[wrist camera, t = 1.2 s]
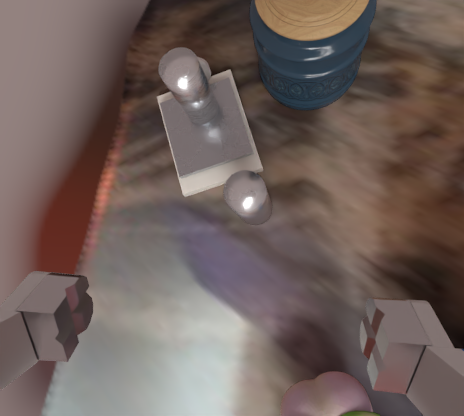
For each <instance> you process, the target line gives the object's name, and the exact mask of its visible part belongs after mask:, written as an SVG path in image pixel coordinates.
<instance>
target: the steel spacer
mask: <svg viewBox="0 0 464 416" xmlns="http://www.w3.org/2000/svg"><path fill="white" fill-rule="evenodd" d="M223 193H224V198H225V201H226V202H227V204H228V205H229V206H230V207H231V208H232V209H233V210H234V211H235V212H236V213H237V214H238V215H239V216H240V217H241V218H242V219H243V220H244V221H245V222H246V223H248V224H250V225H260V224H263V223H265V222H266V221H267V220H268V219H269V218H270V216H271V214H272V203H271V200H270V197H269V194H268V191H267V189H266V186H265V183H264V181H263V179H262V178H261V177H260V176H259V175H258V174H257V173H255V172H253V171H250V170H241V171H238V172H235V173H234V174H232V175H231V176H230V177H229V178H228V179H227V181H226V183H225V185H224V191H223Z"/></svg>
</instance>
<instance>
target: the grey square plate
mask: <svg viewBox="0 0 464 416" xmlns="http://www.w3.org/2000/svg"><path fill="white" fill-rule="evenodd" d="M210 86H211V89H212V91H213V93H214V95H215V97H216V99H217V102H218V105H219V110H218V113H217V115H216V117H215V118H214V119H213V120H212V121H211V122H209V123H207V124H196V123H193V122H192V121H191V120H190V119H189V118H188V116H187V115H186V113H185V112H184V111H183V109H182V108H181V106H180V105H179V103H178V102H177V100H176V99H175V98H172V99H170V100H167V101H164V102H161V103H160V106H161V110H162V114H163V117H164V121H165V125H166V129H167V132H168V136H169V140H170V143H171V147H172V151H173V155H174V158H175V162H176V166H177V170H178V173H179V177H180V178H181V179H182V178H185V177H187V176H190V175H193V174H196V173H199V172H202V171H205V170H208V169H211V168H214V167H217V166H220V165H222V164H225V163H228V162H231V161H234V160H237V159H240V158H243V157H246V156H249V155H252V154H254V153H253V150H252V147H251V143H250V140H249V137H248V134H247V131H246V128H245V125H244V122H243V119H242V116H241V113H240V110H239V107H238V103H237V100H236V97H235V94H234V91H233V88H232V85H231V82H230V79H229V78H226V79H223V80H221V81H218V82H215V83H213V84H210Z"/></svg>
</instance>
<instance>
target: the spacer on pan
mask: <svg viewBox="0 0 464 416" xmlns="http://www.w3.org/2000/svg"><path fill="white" fill-rule="evenodd" d="M159 75H160V77H161V79H162V80H163V82H164V83H165V84H166V86H167V87H168V89H169V90H170V92H171V93H172V95H173V96H174V97H175V99H176V100H177V102H178V103H179V105H180V106H181V108H182V109H183V111H184V112H185V113H186V115H187V116H188V118H189V119H190V120H191V121H192V122H193V123H196V124H207V123H209V122H211V121H212V120H213V119H214V118H215V117H216V115H217V113H218V110H219V105H218V102H217V99H216V97H215V95H214V93H213V91H212V89H211V86H210V84H209V82H208V80H207V78H206V75H205V73H204V71H203V69H202V67H201V65H200V62H199V60H198V58H197V56H196V54H195V53H194V52H193V51H192V50H190V49H188V48H184V47H179V48H174V49H172V50H170V51H168V52H167V53H166V54H165V55H164V56H163V57H162V59H161V61H160V63H159Z"/></svg>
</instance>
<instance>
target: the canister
mask: <svg viewBox="0 0 464 416" xmlns="http://www.w3.org/2000/svg"><path fill="white" fill-rule="evenodd" d="M375 11H376V0H251V3H250V10H249V17H250V23H251V27H252V30H253V38H254V44H255V47H256V50H257V52H258V58H259V71H260V76H261V79H262V82H263V84H264V86H265V87H266V89H267V90H268V92H269V93H270V95H271V96H272V97H273V98H274V99H275V100H277V101H278V102H279V103H281V104H283V105H285V106H287V107H289V108H293V109H297V110H314V109H319V108H322V107H325V106H327V105H330V104H331V103H333V102H335V101H336V100H338V99H339V98H340V97H341V96H342V95H343V94H344V93H345V92H346V91H347V90H348V88H349V87H350V86H351V84H352V83H353V81H354V80H355V77H356V75H357V73H358V69H359V66H360V61H361V54H362V50H363V48H364V46H365V44H366V42H367V39H368V36H369V31H370V25H371V23H372V21H373V18H374V15H375Z"/></svg>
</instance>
